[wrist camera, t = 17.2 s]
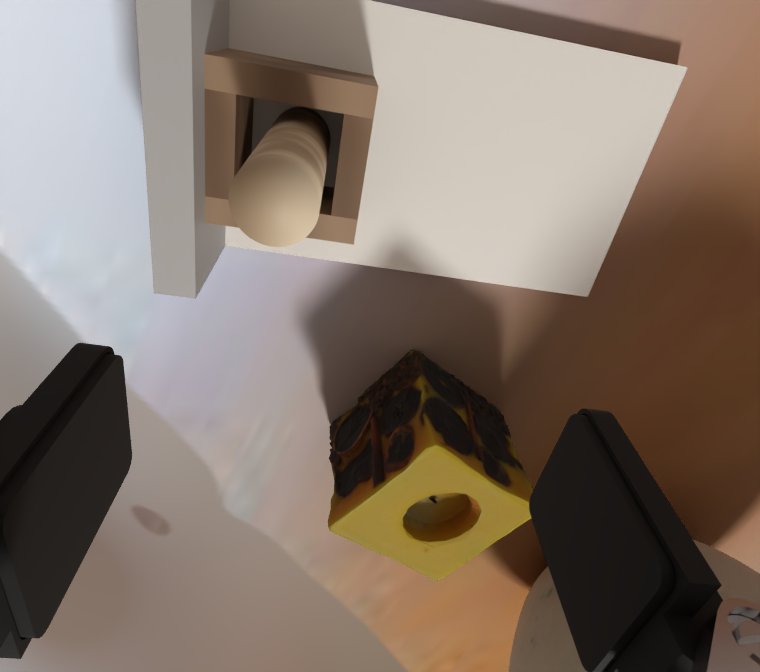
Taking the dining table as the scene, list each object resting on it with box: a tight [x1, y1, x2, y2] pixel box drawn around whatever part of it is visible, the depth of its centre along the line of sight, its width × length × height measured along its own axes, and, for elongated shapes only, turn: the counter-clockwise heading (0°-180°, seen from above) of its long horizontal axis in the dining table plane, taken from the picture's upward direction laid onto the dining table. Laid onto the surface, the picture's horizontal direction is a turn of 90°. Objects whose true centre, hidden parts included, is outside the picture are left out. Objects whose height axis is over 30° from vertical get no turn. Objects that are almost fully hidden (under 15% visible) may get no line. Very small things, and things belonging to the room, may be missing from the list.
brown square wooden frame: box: [204, 48, 378, 245], centre depth 26 cm, size 8×8×5 cm
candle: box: [328, 351, 533, 581], centre depth 37 cm, size 10×10×10 cm
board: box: [135, 0, 688, 298], centre depth 27 cm, size 26×14×8 cm, turn 80°
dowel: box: [228, 107, 330, 247], centre depth 23 cm, size 3×3×12 cm
